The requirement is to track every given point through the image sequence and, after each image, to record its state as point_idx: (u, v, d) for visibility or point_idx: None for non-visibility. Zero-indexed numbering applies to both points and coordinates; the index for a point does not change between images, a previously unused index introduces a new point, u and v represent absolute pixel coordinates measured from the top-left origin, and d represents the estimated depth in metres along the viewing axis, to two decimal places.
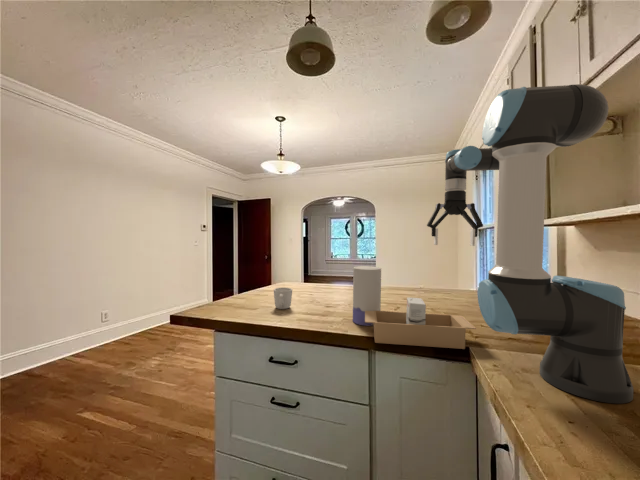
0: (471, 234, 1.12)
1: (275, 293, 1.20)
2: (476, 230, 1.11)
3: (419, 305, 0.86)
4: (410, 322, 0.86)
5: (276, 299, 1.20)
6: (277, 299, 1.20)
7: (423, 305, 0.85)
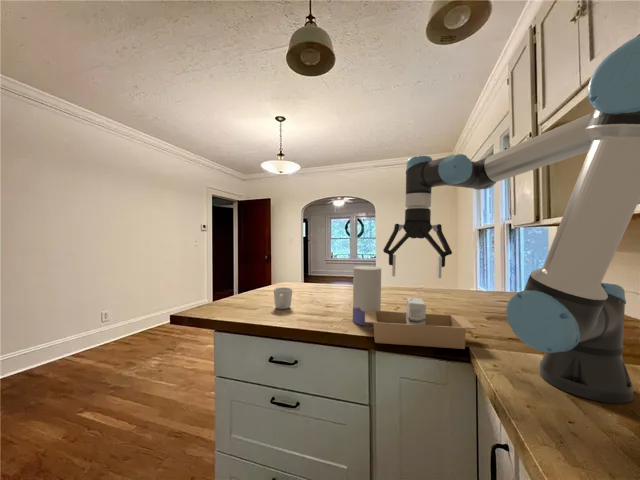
0: (437, 263, 0.89)
1: (275, 293, 1.20)
2: (443, 258, 0.88)
3: (419, 305, 0.86)
4: (410, 322, 0.86)
5: (276, 299, 1.20)
6: (277, 299, 1.20)
7: (423, 305, 0.85)
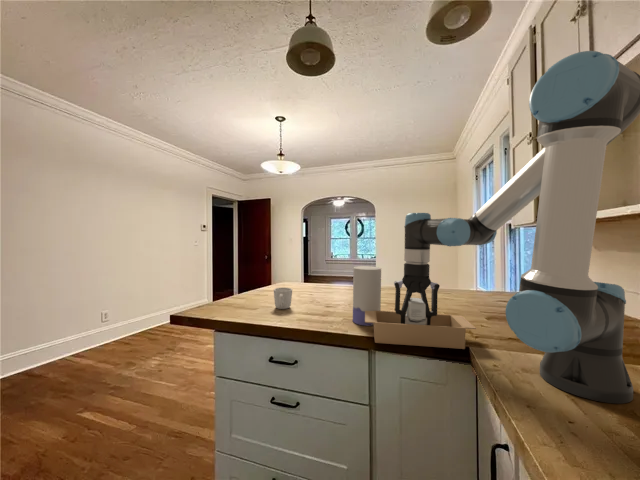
0: None
1: (275, 293, 1.20)
2: (429, 319, 0.89)
3: (419, 305, 0.86)
4: (410, 322, 0.86)
5: (276, 299, 1.20)
6: (277, 299, 1.20)
7: (423, 305, 0.85)
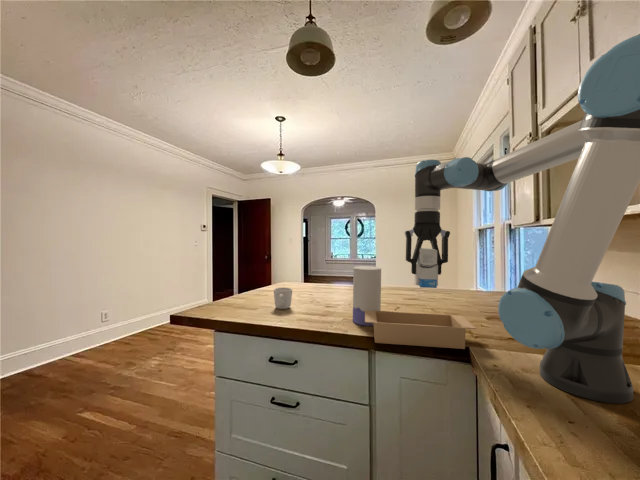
0: None
1: (275, 293, 1.20)
2: (440, 266, 0.90)
3: (431, 250, 0.87)
4: (422, 268, 0.87)
5: (276, 299, 1.20)
6: (277, 299, 1.20)
7: (435, 250, 0.86)
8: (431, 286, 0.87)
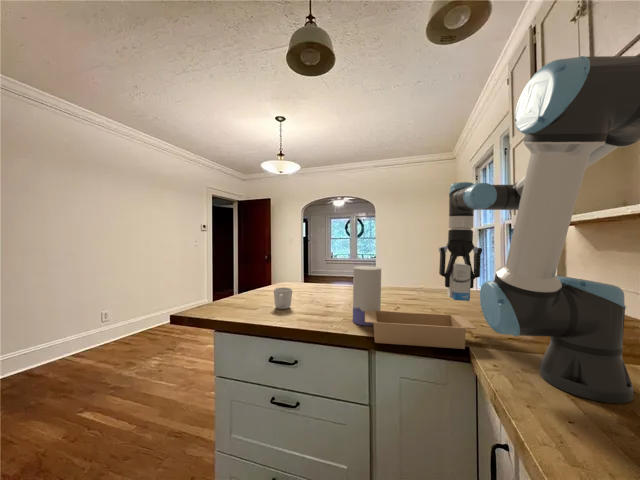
0: None
1: (275, 293, 1.20)
2: (472, 280, 0.97)
3: (464, 266, 0.94)
4: (456, 282, 0.94)
5: (276, 299, 1.20)
6: (277, 299, 1.20)
7: (468, 266, 0.94)
8: (464, 299, 0.94)
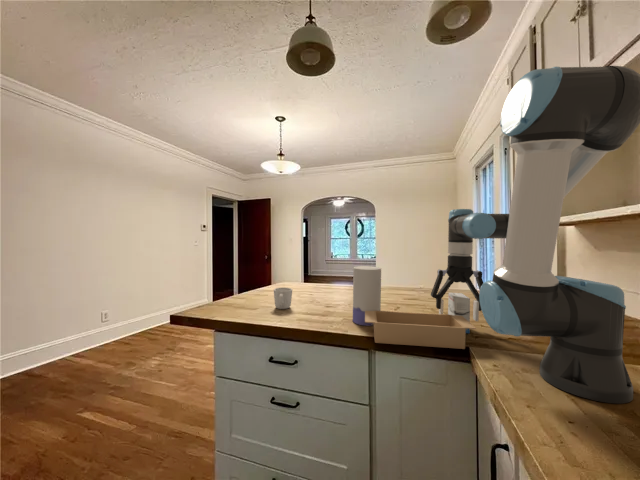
0: (474, 307, 0.98)
1: (275, 293, 1.20)
2: None
3: (464, 299, 0.94)
4: (456, 315, 0.95)
5: (276, 299, 1.20)
6: (277, 299, 1.20)
7: (468, 299, 0.94)
8: None
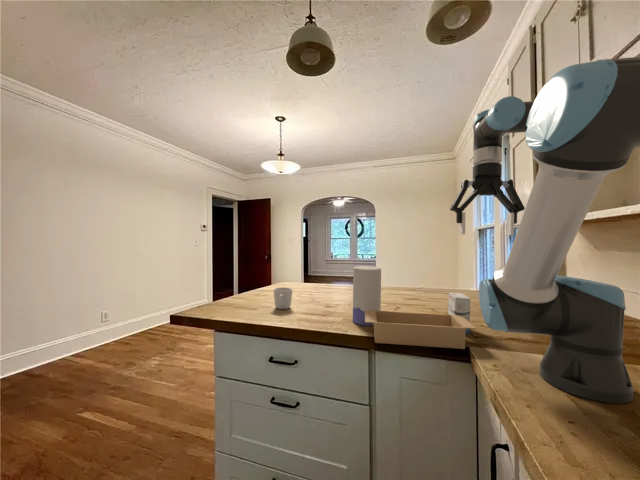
0: (508, 220, 0.86)
1: (275, 293, 1.20)
2: (515, 215, 0.85)
3: (464, 299, 0.94)
4: (456, 315, 0.94)
5: (276, 299, 1.20)
6: (277, 299, 1.20)
7: (468, 299, 0.94)
8: None
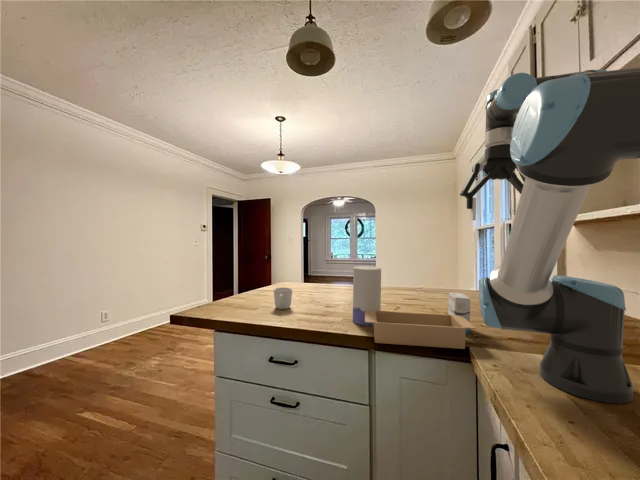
0: None
1: (275, 293, 1.20)
2: None
3: (464, 299, 0.94)
4: (456, 315, 0.94)
5: (276, 299, 1.20)
6: (277, 299, 1.20)
7: (468, 299, 0.94)
8: None
